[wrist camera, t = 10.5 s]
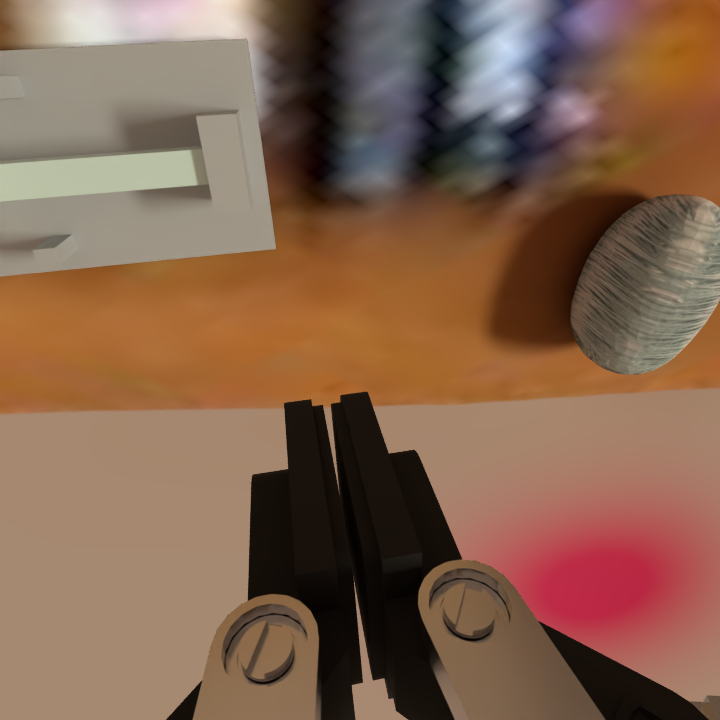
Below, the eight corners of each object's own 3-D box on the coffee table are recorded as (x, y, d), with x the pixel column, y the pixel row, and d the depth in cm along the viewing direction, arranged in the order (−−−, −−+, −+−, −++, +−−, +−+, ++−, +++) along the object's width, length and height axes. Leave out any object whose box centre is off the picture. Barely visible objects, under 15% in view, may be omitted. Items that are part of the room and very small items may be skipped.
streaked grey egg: (646, 382, 43) (700, 405, 33) (538, 343, 44) (560, 354, 34) (718, 229, 40) (799, 204, 31) (602, 193, 42) (645, 159, 32)
